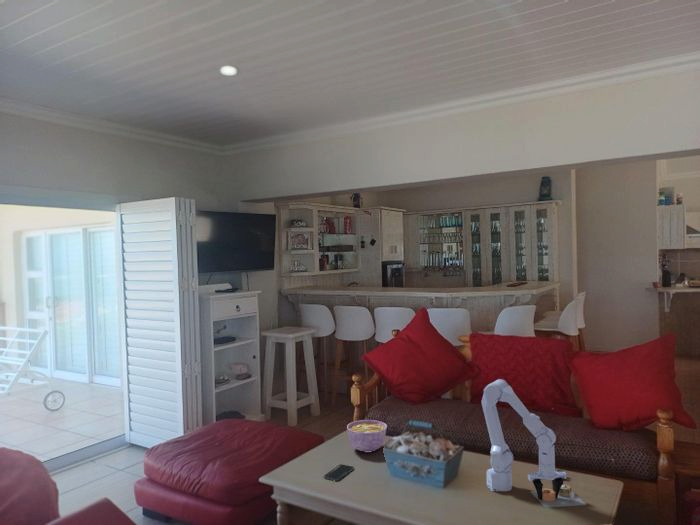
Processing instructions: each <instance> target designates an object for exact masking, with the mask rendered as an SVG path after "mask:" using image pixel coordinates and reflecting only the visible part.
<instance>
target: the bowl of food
mask: <svg viewBox="0 0 700 525" xmlns="http://www.w3.org/2000/svg"><path fill="white" fill-rule="evenodd" d="M387 429H388V425H387V424H386V423H385V422H382V421H379V420H374V419H362V420H360V419H359V420H356V421H351V422H350V423H348V424H347V425H346V430H347V432H348V434H347V435H348V436H349V437H348V438H349V441H350V444H351V445H352V447H353V448H355V449H356V450H358V451H360V452H361V451H373V452H375V451H376V450H378V449H380V448H382V447H383V444H384V442H385V439H386V433H387ZM374 450H375V451H374Z"/></svg>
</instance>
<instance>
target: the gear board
mask: <svg viewBox="0 0 700 525" xmlns="http://www.w3.org/2000/svg"><path fill="white" fill-rule="evenodd" d="M562 488H565V485H562ZM530 493H531V495H532V496H533V497H534V498H535V499H536V500H537V501H539V503H540V504H541V505H542V506H543V507H544V508H546V509H547V508H558V507H559V508H562V507H570V506H571V507H573V506H585V505H587V503H586V502H584V501H583V499H581V498H580V497H579V496H578V495H576V494H575V493H574V492H573V491H572V490H571V493H570V496H566V497H565V496H560V495H558V497H557V498H556V499H555V500H554V501H552V502H547V501H543V500H540V499H539V498H538V495H537V491H535V490H533V491H530Z"/></svg>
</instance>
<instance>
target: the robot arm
mask: <svg viewBox="0 0 700 525" xmlns="http://www.w3.org/2000/svg"><path fill="white" fill-rule="evenodd" d="M480 401H481V406H482V411H483V414H484V415H483V416H484V419H485V423H486V427H487V432H488V434H489V440H490V444H491V448H490V461H489V464H490V466H491V468H489V469H488V468H487V469H486V474H485V475H486V486H487V488H488V489H489V490H490V491H491V492H509V491H511V490H512V489H513V482H512V481H513V480H512V478H513V477H512V476H513V474H512V466H511V464H512V463H513V462H514V454H513V453H512V451H511V450H510V446H509V445H508V444H507V443H506V441H505V438H504V437H505V436H504V434H503V429H502V424H501V421H500V417H499V413H498V409H497V403H498V402H504V403H508V404H509V405H510V406H511V407H512V408H513V409H514V410H515V411H516V412H517V414H518V415H519V416H520V417H521V418H522V423H523V425H524V426H525V427H526V428H527V429H528V431H529V432H530V433H531V434H532V435H533V436H534V438H535V442H536V444H537V446H538V471H537V472H533V473H528V474H527V480H528V481H529V482H532V484H533V486H534V488H535V490H536V491H537V495H538V498H539V499H540V500H542V489H544V488H543V486H544V484H543V483H542V481H543V480H549V481H551V484H552V485H551V486H552V490H553V491H554V492H555V498H557V497H558V493H559V490H560V488H561V486H562V485H563V484H564V480H562V478H564V479H565V480H566V479H567V472H565V471H564V472H556V471H557V470H556V459H555V458H556V457H555V456H556V455H555V444H554V443H555V442H556V441H557V436H556V433H555V432H554V430H553V429H551V428H549V427H548V426H546V425H545V424H544V423H543V422H542V421H541V420H540V419H541V417H540V416H539V415H536V414H535V413H532V412H530V411H529V410H528V408H527V407H526V406H525V405H524V403H523V401H521V400H520V398H519V397H518V396H517V394H516V393H515V391H514V390H513V388H512V386H510V384H508V382H507V381H506V380H505V379H501V378H498V379H496V380H495V381H493V382H491V383H489V384H487V385H486V386H485V387H484V389H483V395H482V398H481V400H480Z"/></svg>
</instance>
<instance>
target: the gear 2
mask: <svg viewBox="0 0 700 525" xmlns="http://www.w3.org/2000/svg"><path fill="white" fill-rule="evenodd" d="M563 485H565V488H562V486H561V488H560V490H559V493H558V495H560V496H565V497H566V496H570V493H571V491H572V487H571V486H570V485H569V484H566V483H563Z"/></svg>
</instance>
